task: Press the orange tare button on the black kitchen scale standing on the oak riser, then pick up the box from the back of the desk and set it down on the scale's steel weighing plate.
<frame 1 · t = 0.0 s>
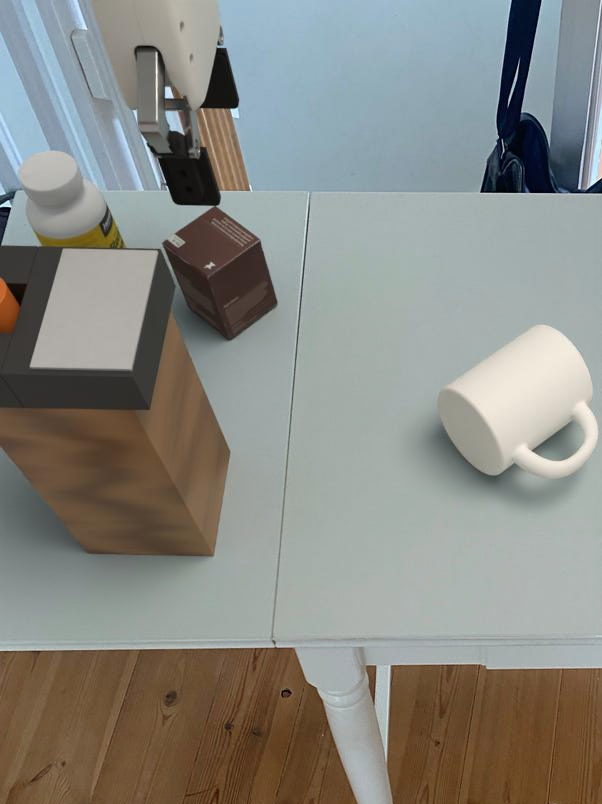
hand: (208, 152, 61), 18 cm above the table, tool pointing down, fingers open, 9 cm apart
riser: (161, 500, 71), on the table
mug: (528, 447, 74), on the table
pill bottle: (104, 284, 81), on the table
box: (233, 307, 80), on the table
scale: (67, 343, 55), resting on riser
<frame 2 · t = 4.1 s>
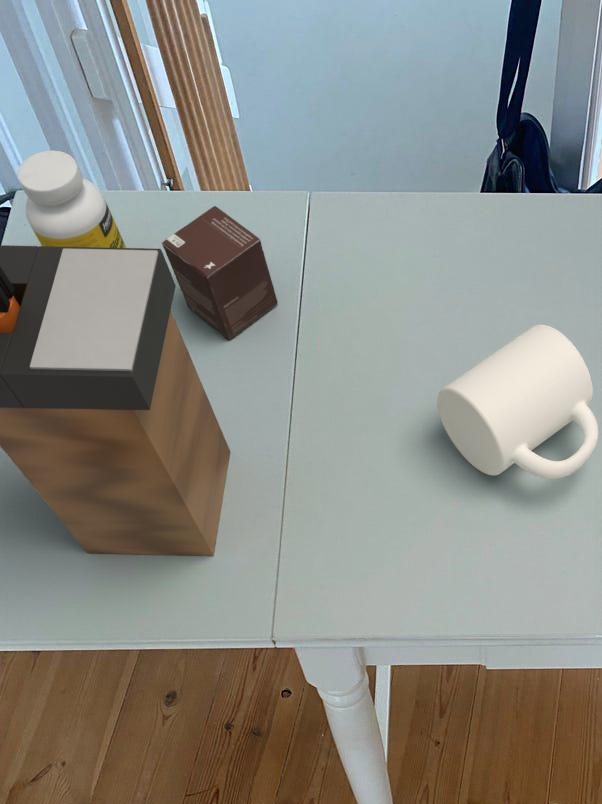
everything else where it was.
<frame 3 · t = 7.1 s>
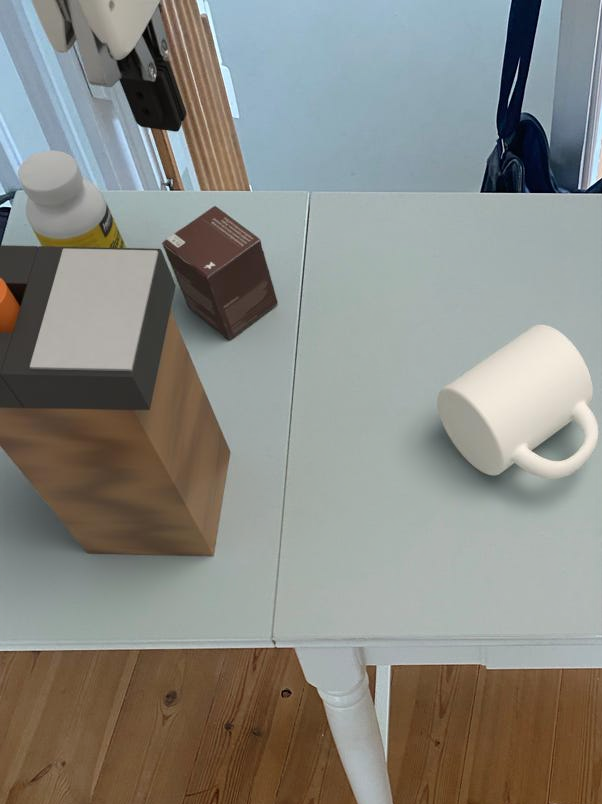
hand: (162, 121, 62), 19 cm above the table, tool pointing down, fingers closed
everything else where it was.
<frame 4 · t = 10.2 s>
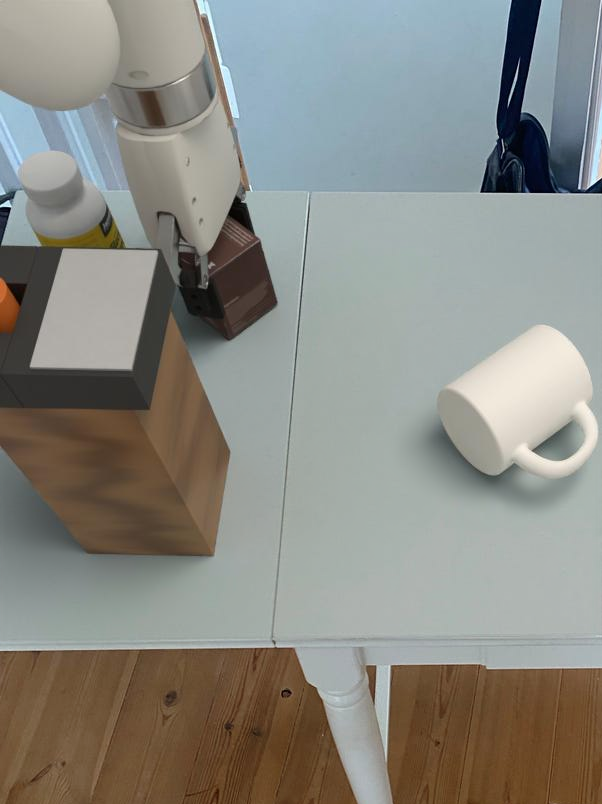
hand: (223, 276, 77), 3 cm above the table, tool pointing down, fingers closed on box, 8 cm apart
box: (233, 307, 80), on the table, touching gripper
everything else where it was.
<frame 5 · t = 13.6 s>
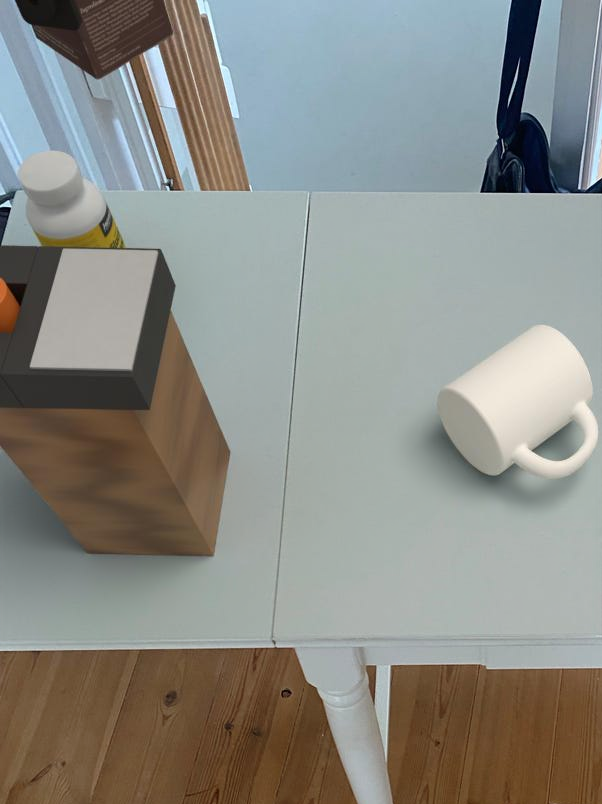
box: (107, 42, 53), point 27 cm above the table, touching gripper
everything else where it was.
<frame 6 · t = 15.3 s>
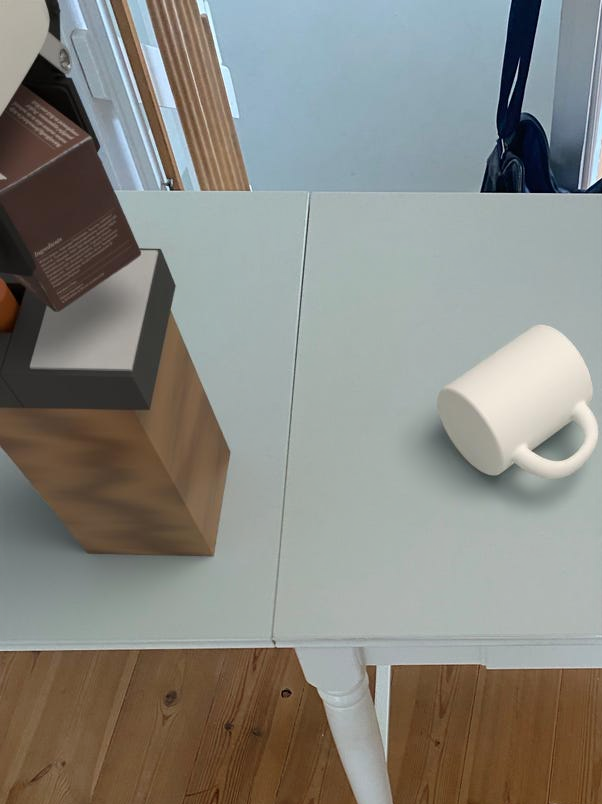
hand: (40, 205, 46), 28 cm above the table, tool pointing down, fingers closed on box, 8 cm apart
box: (70, 262, 49), point 24 cm above the table, touching gripper
everything else where it was.
when the fingers open (25 cm above the table, at t = 16.9 s): box stays where it is, resting on scale.
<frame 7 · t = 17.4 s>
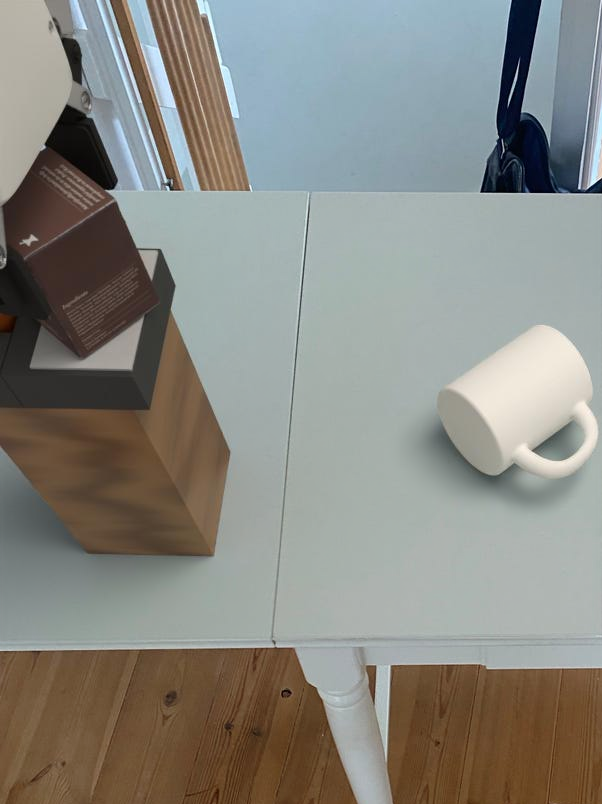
hand: (58, 245, 48), 26 cm above the table, tool pointing down, fingers open, 9 cm apart
box: (93, 309, 52), point 21 cm above the table, touching scale
everything else where it was.
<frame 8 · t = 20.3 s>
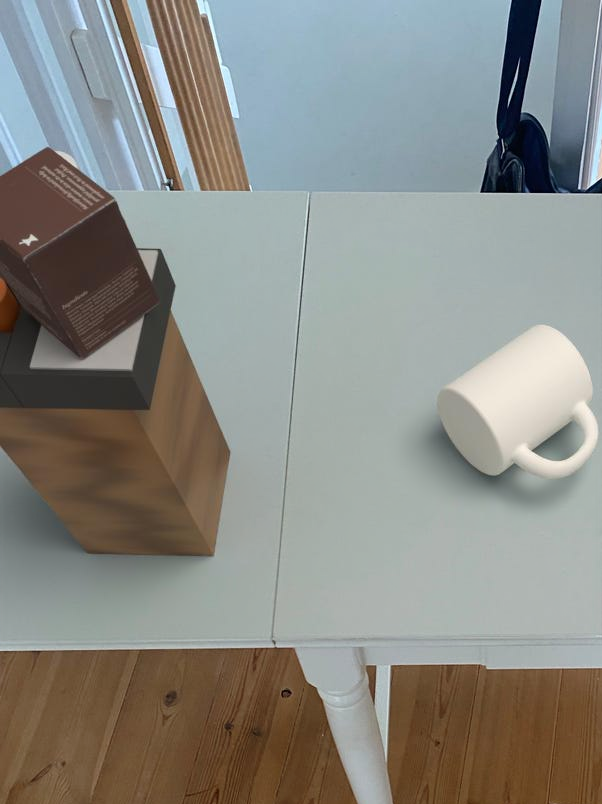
nothing on the table moved.
at the end: tare button pushed in 0.8 cm at the most during the clip, back to where it started at the end; tare button slide at 0.1 cm; box inside the target area on the scale (0.2 cm from its centre), point 3.0 cm above the scale's base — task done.
